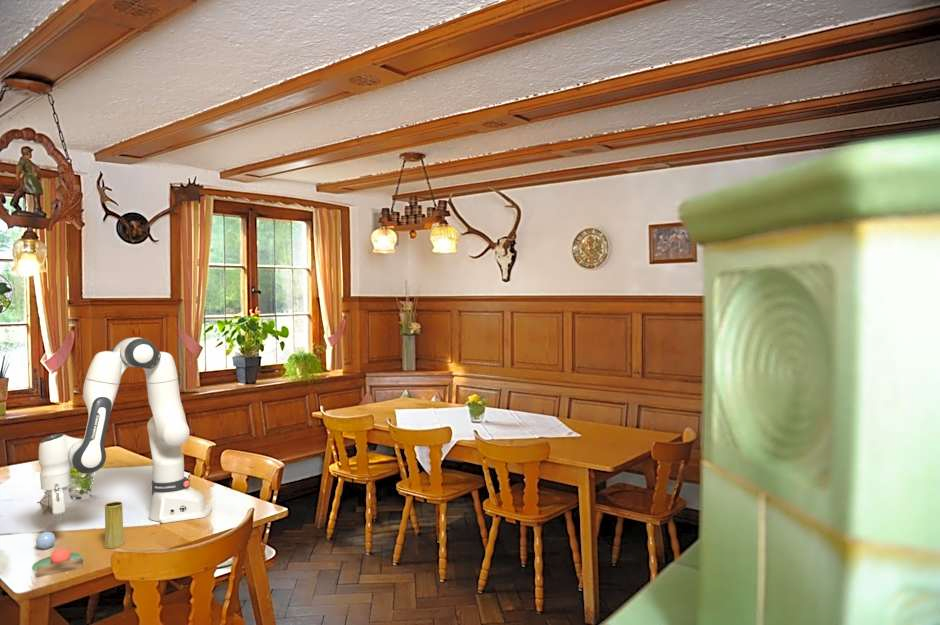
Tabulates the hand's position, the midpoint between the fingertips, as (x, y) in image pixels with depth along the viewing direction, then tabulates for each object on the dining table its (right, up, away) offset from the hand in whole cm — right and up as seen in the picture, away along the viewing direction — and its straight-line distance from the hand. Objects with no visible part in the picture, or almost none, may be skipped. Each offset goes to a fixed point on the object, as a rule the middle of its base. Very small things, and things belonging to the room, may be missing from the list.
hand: (58, 520), depth 225 cm
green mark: (+12, -7, -19) cm, 24 cm away
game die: (-22, -6, +29) cm, 37 cm away
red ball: (+15, -5, -22) cm, 27 cm away
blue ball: (+1, -4, -8) cm, 9 cm away
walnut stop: (+17, -8, -26) cm, 32 cm away
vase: (+22, -7, -5) cm, 24 cm away
